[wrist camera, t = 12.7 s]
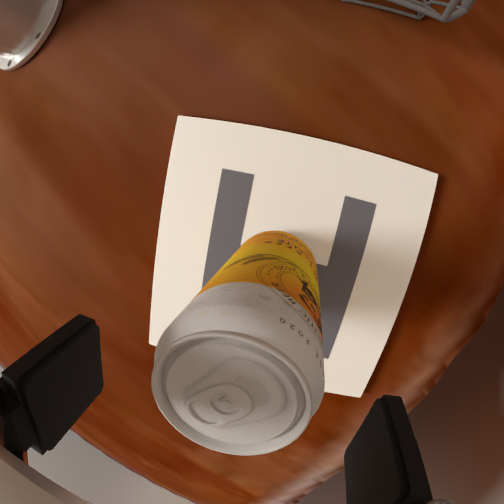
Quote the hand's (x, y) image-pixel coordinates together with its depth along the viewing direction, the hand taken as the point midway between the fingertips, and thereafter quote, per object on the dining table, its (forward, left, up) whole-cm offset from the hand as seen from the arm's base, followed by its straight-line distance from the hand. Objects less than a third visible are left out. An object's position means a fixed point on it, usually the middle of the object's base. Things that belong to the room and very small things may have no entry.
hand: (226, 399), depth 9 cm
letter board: (0, 0, -16) cm, 16 cm away
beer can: (0, 0, -15) cm, 15 cm away
